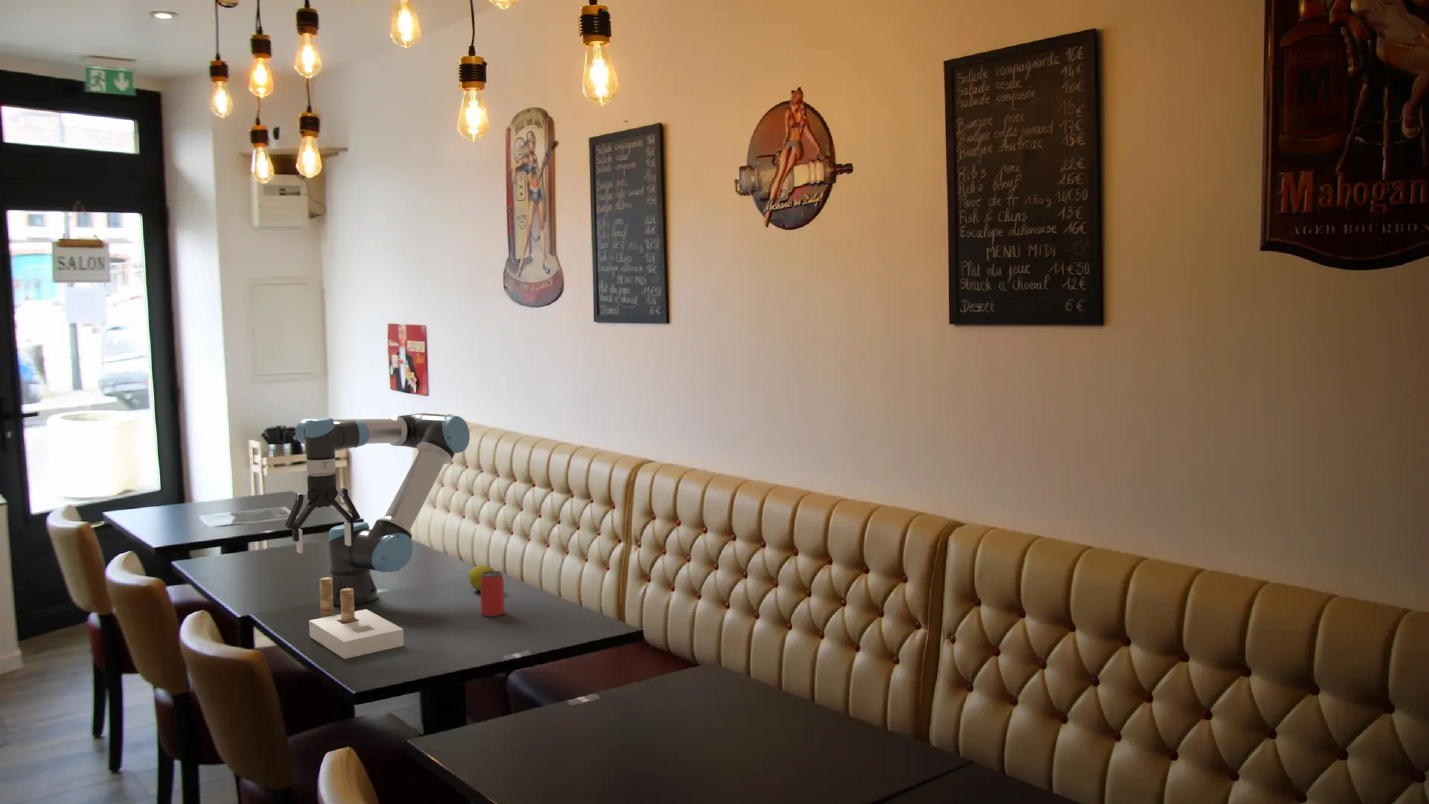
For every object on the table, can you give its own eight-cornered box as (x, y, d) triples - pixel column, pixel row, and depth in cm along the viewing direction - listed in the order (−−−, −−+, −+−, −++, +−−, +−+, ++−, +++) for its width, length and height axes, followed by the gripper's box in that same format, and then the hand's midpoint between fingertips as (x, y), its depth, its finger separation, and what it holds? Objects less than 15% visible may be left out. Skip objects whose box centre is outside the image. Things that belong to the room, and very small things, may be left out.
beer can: (499, 617, 314) (498, 576, 313) (477, 616, 315) (476, 575, 314) (507, 611, 320) (506, 571, 319) (486, 610, 321) (485, 570, 320)
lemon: (503, 592, 341) (502, 566, 340) (481, 596, 336) (480, 571, 335) (485, 585, 349) (485, 560, 348) (463, 589, 344) (463, 564, 343)
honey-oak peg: (331, 621, 311) (329, 576, 310) (336, 624, 308) (334, 579, 307) (318, 623, 309) (317, 578, 307) (323, 626, 306) (321, 581, 305)
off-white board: (366, 624, 308) (366, 609, 307) (403, 645, 289) (403, 629, 289) (309, 636, 297) (309, 620, 297) (344, 659, 279) (343, 641, 279)
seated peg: (352, 633, 300) (350, 587, 298) (357, 636, 297) (356, 590, 296) (339, 636, 297) (337, 589, 296) (344, 639, 295) (342, 592, 293)
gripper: (280, 480, 293) (283, 558, 295) (370, 470, 309) (372, 544, 311) (270, 476, 299) (274, 553, 301) (359, 467, 315) (362, 539, 317)
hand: (324, 548), depth 306 cm, fingers open, 13 cm apart
